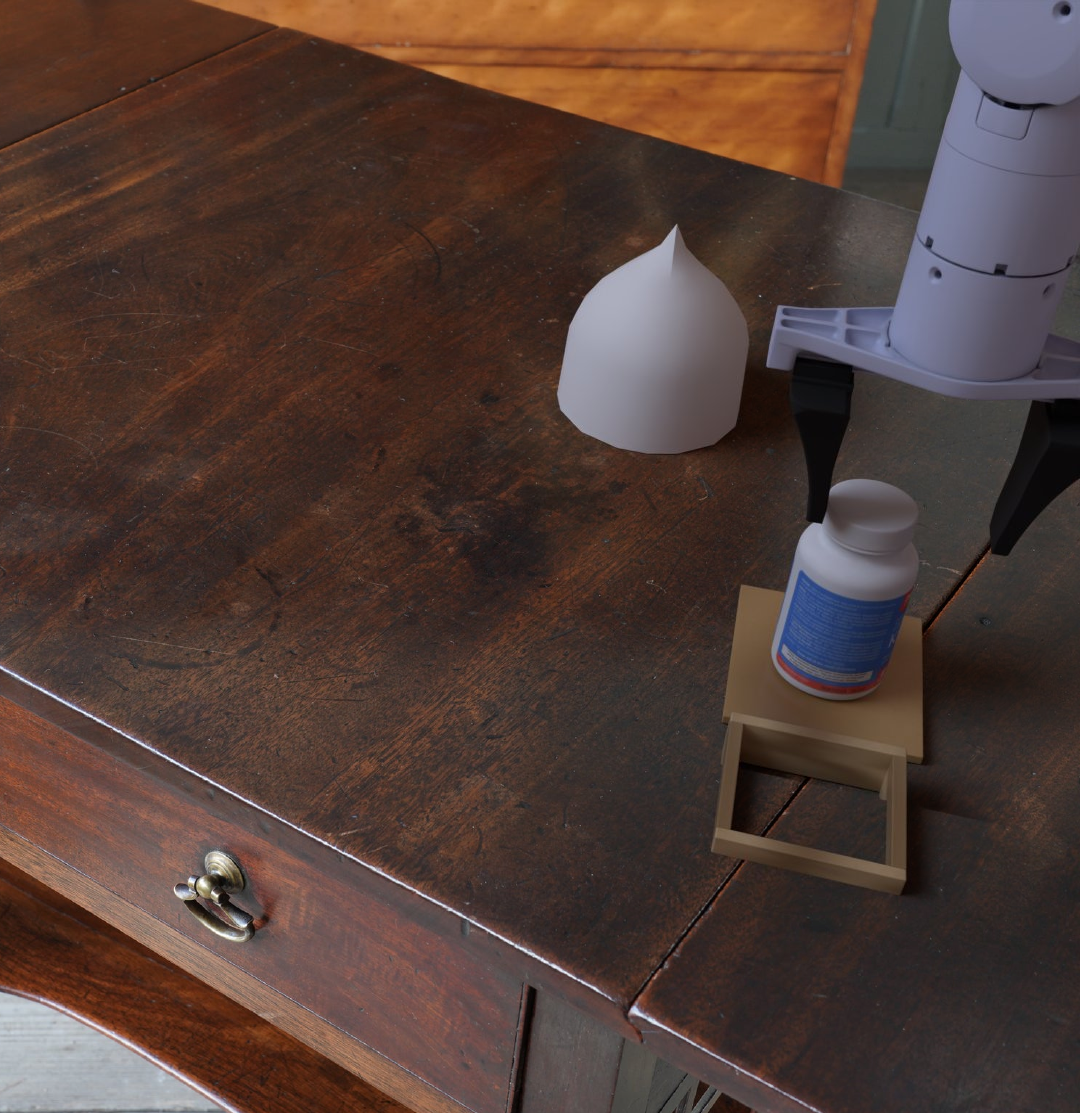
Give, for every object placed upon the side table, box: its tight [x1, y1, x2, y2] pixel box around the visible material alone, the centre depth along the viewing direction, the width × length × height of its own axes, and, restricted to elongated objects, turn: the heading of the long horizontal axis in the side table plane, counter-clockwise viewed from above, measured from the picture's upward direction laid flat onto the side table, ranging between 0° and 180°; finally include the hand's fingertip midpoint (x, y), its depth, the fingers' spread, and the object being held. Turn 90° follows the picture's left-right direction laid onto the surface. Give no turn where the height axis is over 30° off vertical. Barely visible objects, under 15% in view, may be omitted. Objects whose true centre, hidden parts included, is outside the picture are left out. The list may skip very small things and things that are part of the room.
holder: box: [710, 712, 908, 896], centre depth 63 cm, size 8×8×2 cm
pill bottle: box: [771, 478, 920, 700], centre depth 68 cm, size 6×5×10 cm
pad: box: [721, 583, 924, 765], centre depth 71 cm, size 9×10×1 cm
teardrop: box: [556, 223, 750, 455], centre depth 86 cm, size 11×11×12 cm
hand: (905, 525), depth 64 cm, fingers open, 7 cm apart
